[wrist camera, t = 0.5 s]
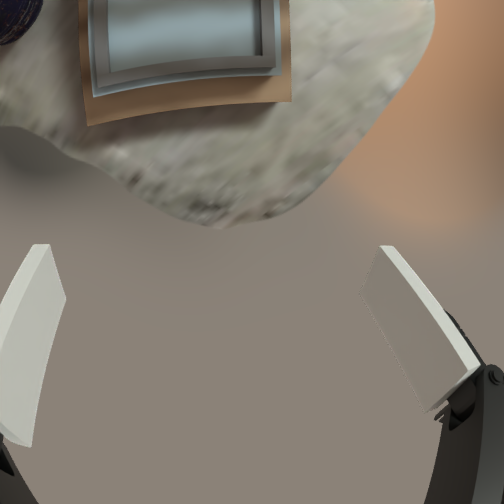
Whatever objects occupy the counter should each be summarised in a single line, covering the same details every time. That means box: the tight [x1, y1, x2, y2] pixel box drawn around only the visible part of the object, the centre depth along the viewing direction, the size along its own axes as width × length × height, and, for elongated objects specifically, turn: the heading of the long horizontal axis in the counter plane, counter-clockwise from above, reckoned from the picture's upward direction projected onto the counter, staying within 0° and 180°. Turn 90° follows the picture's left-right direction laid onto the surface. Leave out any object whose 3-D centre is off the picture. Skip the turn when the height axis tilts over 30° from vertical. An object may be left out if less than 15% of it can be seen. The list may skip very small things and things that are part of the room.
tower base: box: [78, 0, 292, 127], centre depth 22 cm, size 24×22×8 cm
